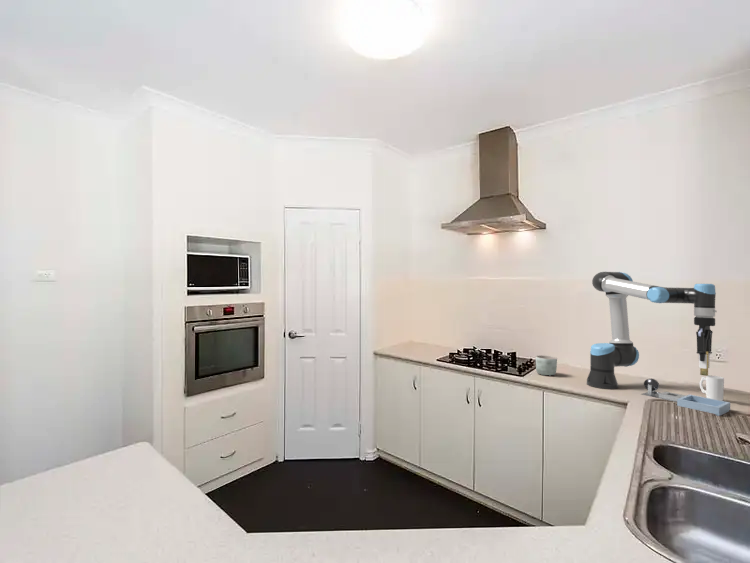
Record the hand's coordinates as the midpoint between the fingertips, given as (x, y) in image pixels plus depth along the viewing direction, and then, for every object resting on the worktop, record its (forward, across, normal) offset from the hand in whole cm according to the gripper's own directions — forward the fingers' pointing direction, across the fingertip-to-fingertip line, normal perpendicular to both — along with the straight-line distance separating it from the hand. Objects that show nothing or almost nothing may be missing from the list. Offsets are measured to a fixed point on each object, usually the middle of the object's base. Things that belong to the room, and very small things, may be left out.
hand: (704, 367), depth 180 cm
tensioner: (+19, +4, +17) cm, 26 cm away
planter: (+19, 0, +79) cm, 81 cm away
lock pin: (+3, 0, 0) cm, 3 cm away
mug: (+19, +21, +3) cm, 29 cm away
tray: (+19, 0, 0) cm, 19 cm away
